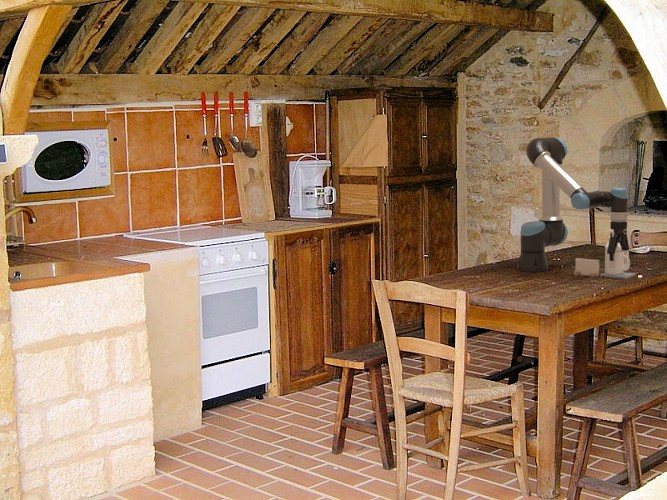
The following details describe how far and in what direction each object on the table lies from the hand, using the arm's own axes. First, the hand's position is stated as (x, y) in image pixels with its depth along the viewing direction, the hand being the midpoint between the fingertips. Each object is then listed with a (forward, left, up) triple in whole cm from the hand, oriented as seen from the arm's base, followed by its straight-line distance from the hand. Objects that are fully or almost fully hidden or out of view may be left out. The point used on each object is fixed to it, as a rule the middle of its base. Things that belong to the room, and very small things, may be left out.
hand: (617, 265), depth 443 cm
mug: (0, 0, -4) cm, 4 cm away
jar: (-12, +27, -5) cm, 30 cm away
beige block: (-13, -6, -5) cm, 15 cm away
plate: (0, 0, -5) cm, 5 cm away
